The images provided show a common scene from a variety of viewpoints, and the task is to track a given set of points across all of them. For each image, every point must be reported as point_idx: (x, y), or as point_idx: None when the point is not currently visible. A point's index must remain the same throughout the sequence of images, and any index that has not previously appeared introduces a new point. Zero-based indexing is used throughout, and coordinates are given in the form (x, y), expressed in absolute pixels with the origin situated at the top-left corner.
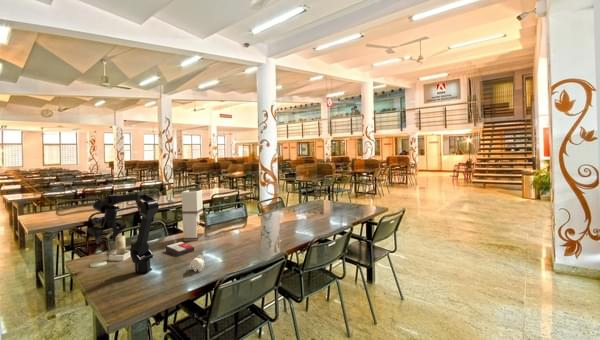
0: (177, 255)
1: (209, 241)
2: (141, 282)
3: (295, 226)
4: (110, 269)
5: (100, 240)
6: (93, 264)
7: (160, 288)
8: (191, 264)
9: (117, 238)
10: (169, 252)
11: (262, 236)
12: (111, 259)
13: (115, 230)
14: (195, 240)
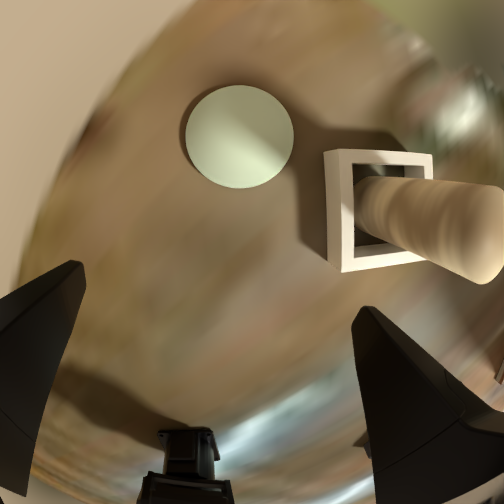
0: (367, 443)
1: None
2: (116, 465)
3: None
4: (173, 292)
5: (49, 380)
6: (222, 110)
7: (115, 496)
8: None
9: (459, 239)
10: None
11: None
12: (327, 171)
13: (428, 460)
14: (499, 371)
